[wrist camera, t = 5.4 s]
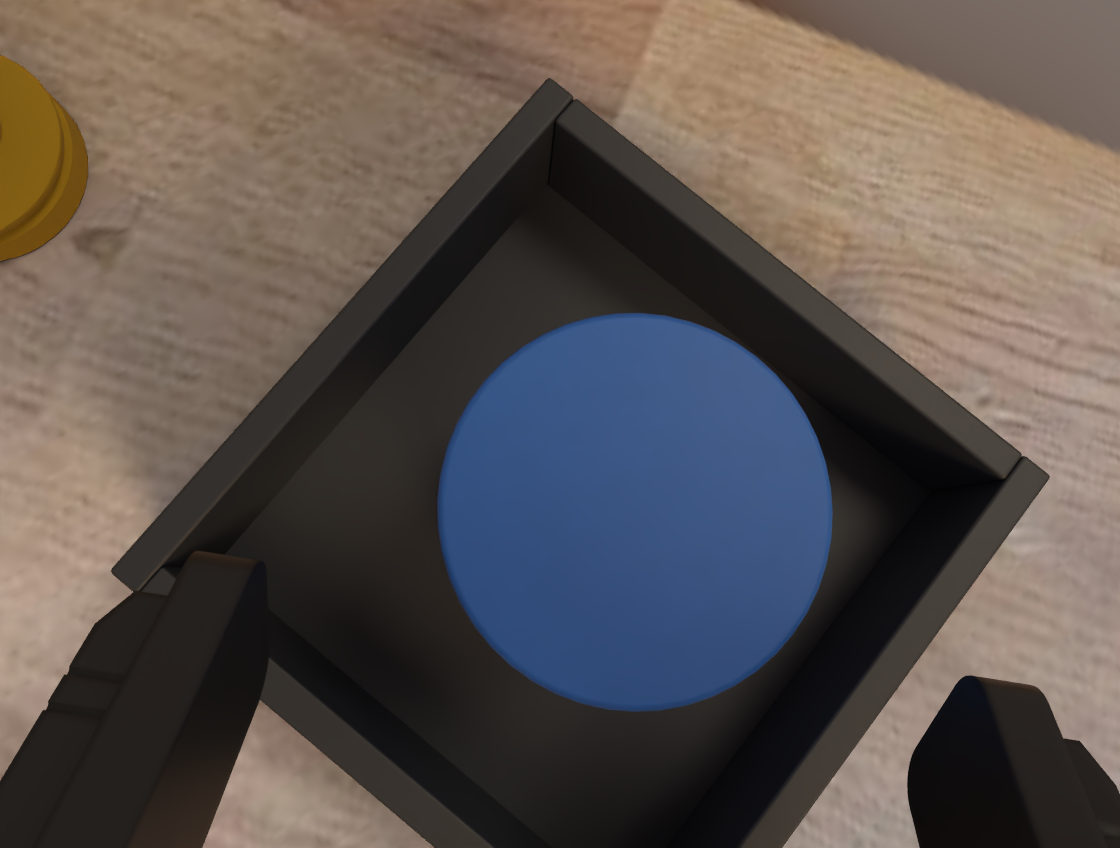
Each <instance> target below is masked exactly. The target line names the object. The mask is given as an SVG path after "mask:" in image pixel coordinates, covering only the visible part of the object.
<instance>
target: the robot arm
mask: <svg viewBox="0 0 1120 848" xmlns="http://www.w3.org/2000/svg"><path fill="white" fill-rule="evenodd" d="M269 650H270V644H269V620H268V597H267V574H266V566H265V563H264V562H263V561H260V560H254V559H248V558H241V557H235V556H229V555H222V554H216V553H210V552H203V551H195V552H193V553H192V554H191V555H190V556H189V558H188V559H187V561H186V562H185V564H184V566H183V568H182V569H181V571H180V573H179V575H178V577H177V579H176V581H175V582H174V584H173V586H172V588H171V590H170V592H169V594H168V595H161V594H154V593H148V592H142V591H135V592H133V593H132V594H131V595H130V596H128V597H127V598H126V599H125V600H124V601H122V602H121V603H120V604H119V605H117V606H116V607H115V608H114V609H112V610H111V611H110V612H109V613H108V614H106V615H105V616H104V617H103V618H101V619H100V620H99V621H98V622H97V623H95V624H94V626H93V628H92V629H91V631H90V633H89V634H88V636H87V638H86V639H85V641H84V643H83V644H82V646H81V648H80V649H79V651H78V653H77V654H76V656H75V658H74V659H73V661H72V663H71V664H70V666H69V672H68V674H67V675H64V676H63V678H62V679H61V681H60V683H59V684H58V686H57V688H56V689H55V691H54V693H53V694H52V696H51V698H50V699H49V701H48V707H47V709H46V710H43V711H42V713H41V714H40V716H39V718H38V719H37V721H36V723H35V724H34V726H33V728H32V729H31V731H30V733H29V734H28V736H27V737H26V739H25V741H24V742H23V744H22V746H21V747H20V749H19V751H18V752H17V754H16V756H15V757H14V759H13V761H12V762H11V764H10V766H9V767H8V769H7V771H6V772H5V774H4V776H3V777H2V779H1V781H0V848H202V847H203V844H204V842H205V839H206V837H207V834H208V832H209V829H210V826H211V824H212V821H213V819H214V816H215V814H216V811H217V808H218V806H219V803H220V801H221V798H222V795H223V793H224V790H225V788H226V785H227V783H228V780H229V777H230V775H231V772H232V770H233V767H234V764H235V762H236V759H237V757H238V754H239V752H240V749H241V746H242V744H243V741H244V739H245V736H246V734H247V731H248V728H249V726H250V723H251V721H252V718H253V715H254V713H255V710H256V708H257V705H258V702H259V700H260V696H261V693H262V690H263V686H264V682H265V678H266V673H267V668H268V661H269ZM907 788H908V800H909V805H910V810H911V814H912V818H913V822H914V826H915V830H916V834H917V838H918V843H919V847H920V848H1120V794H1119V791H1118V789H1117V787H1116V785H1115V784H1114V782H1113V781H1112V780H1111V779H1110V777H1109V776H1108V775H1107V774H1106V773H1105V771H1104V770H1103V769H1102V768H1101V766H1100V765H1099V764H1098V763H1097V762H1096V760H1095V759H1094V758H1093V757H1092V755H1091V754H1090V753H1089V752H1088V751H1087V749H1086V748H1085V747H1084V746H1083V744H1082V743H1081V742H1080V741H1076V740H1070V739H1063V737H1062V735H1061V732H1060V730H1059V727H1058V725H1057V723H1056V720H1055V718H1054V715H1053V713H1052V710H1051V708H1050V705H1049V703H1048V701H1047V699H1046V697H1045V696H1044V694H1043V693H1042V692H1041V691H1040V690H1039V689H1038V688H1037V687H1035V686H1032V685H1027V684H1021V683H1014V682H1008V681H1002V680H995V679H989V678H983V677H976V676H965V677H963V678H962V679H960V680H959V681H958V683H957V684H956V685H955V687H954V688H953V690H952V692H951V693H950V695H949V696H948V698H947V699H946V701H945V703H944V704H943V706H942V707H941V709H940V710H939V712H938V714H937V715H936V717H935V718H934V720H933V721H932V723H931V725H930V726H929V728H928V729H927V731H926V732H925V734H924V735H923V737H922V739H921V740H920V742H919V743H918V745H917V746H916V748H915V750H914V752H913V755H912V757H911V761H910V765H909V770H908V783H907Z"/></svg>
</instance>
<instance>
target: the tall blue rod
mask: <svg viewBox="0 0 1120 848" xmlns="http://www.w3.org/2000/svg"><path fill="white" fill-rule="evenodd" d="M437 516H438V532H439V539H440V545H441V552H442V556H443V559H444V563H445V566H446V570H447V573H448V576H449V579H450V582H451V584H452V586H453V589H454V591H455V593H456V595H457V598H458V600H459V602H460V604H461V606H462V607H463V609H464V611H465V612H466V614H467V616H468V617H469V619H470V621H471V622H472V624H473V626H474V627H475V628H476V629H477V631H478V632H479V633H480V634H481V636H482V637H483V638H484V639H485V641H486V642H487V643H488V644H489V646H490V647H491V648H492V649H493V650H494V651H495V652H496V653H497V654H499V655H500V656H501V657H502V658H503V659H504V660H505V661H506V662H507V663H508V664H509V665H510V666H511V667H513V668H514V669H516V670H517V671H518V672H520V673H521V674H522V675H524V676H525V677H527V678H528V679H529V680H531V681H532V682H534V683H536V684H538V685H540V686H541V687H543V688H545V689H547V690H549V691H551V692H553V693H554V694H557V695H559V696H562V697H565V698H567V699H570V700H573V701H575V702H578V703H581V704H585V705H589V706H594V707H598V708H602V709H607V710H618V711H629V712H642V711H661V710H666V709H672V708H677V707H682V706H687V705H690V704H693V703H696V702H699V701H702V700H705V699H708V698H711V697H713V696H715V695H717V694H719V693H721V692H723V691H726V690H728V689H730V688H732V687H734V686H735V685H737V684H738V683H740V682H741V681H743V680H744V679H746V678H747V677H749V676H750V675H752V674H753V673H755V672H756V671H758V670H759V669H760V668H761V667H762V666H763V665H764V664H765V663H767V662H768V661H769V660H770V659H771V658H772V657H773V656H774V655H776V654H777V652H778V651H779V650H780V649H781V648H782V647H783V645H784V644H785V643H786V642H787V641H788V640H789V638H790V637H791V636H792V635H793V634H794V632H795V631H796V629H797V628H798V626H799V624H800V623H801V621H802V620H803V618H804V617H805V615H806V614H807V612H808V610H809V608H810V606H811V604H812V602H813V600H814V597H815V595H816V593H817V591H818V589H819V586H820V583H821V580H822V577H823V574H824V571H825V568H826V564H827V559H828V554H829V548H830V543H831V535H832V516H833V511H832V497H831V486H830V481H829V476H828V471H827V466H826V462H825V459H824V456H823V453H822V450H821V447H820V444H819V441H818V438H817V436H816V434H815V432H814V430H813V428H812V426H811V424H810V422H809V420H808V418H807V416H806V414H805V412H804V411H803V409H802V408H801V406H800V405H799V403H798V402H797V400H796V399H795V397H794V396H793V394H792V393H791V392H790V390H789V389H788V388H787V387H786V386H785V384H784V383H783V382H782V381H781V380H780V379H779V377H778V376H777V375H776V374H775V373H774V372H773V371H772V370H771V369H770V368H768V367H767V366H766V365H765V364H764V363H763V362H762V361H761V360H760V359H759V358H758V357H756V356H755V355H753V354H752V353H751V352H749V351H748V350H746V349H745V348H744V347H742V346H741V345H739V344H738V343H736V342H735V341H733V340H731V339H729V338H727V337H725V336H723V335H721V334H720V333H718V332H716V331H714V330H711V329H709V328H706V327H703V326H701V325H698V324H696V323H693V322H690V321H686V320H682V319H678V318H674V317H669V316H665V315H656V314H646V313H615V314H608V315H602V316H595V317H589V318H586V319H582V320H579V321H575V322H572V323H568V324H565V325H563V326H561V327H559V328H556V329H554V330H552V331H549V332H547V333H545V334H543V335H541V336H539V337H538V338H536V339H534V340H533V341H531V342H529V343H528V344H526V345H524V346H523V347H521V348H520V349H519V350H517V351H516V352H515V353H513V354H512V355H511V356H510V357H508V358H507V359H506V360H505V361H503V362H502V363H501V364H500V365H499V366H498V367H497V368H496V369H495V370H494V371H493V372H492V373H491V374H490V375H489V376H488V377H487V378H486V380H485V381H484V382H483V383H482V384H481V386H480V387H479V388H478V390H477V391H476V392H475V394H474V395H473V397H472V398H471V399H470V401H469V402H468V404H467V406H466V407H465V409H464V411H463V413H462V415H461V416H460V418H459V420H458V422H457V424H456V426H455V428H454V431H453V433H452V436H451V438H450V441H449V443H448V446H447V449H446V452H445V457H444V461H443V465H442V469H441V473H440V480H439V489H438V497H437Z"/></svg>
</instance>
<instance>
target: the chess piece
mask: <svg viewBox="0 0 1120 848" xmlns="http://www.w3.org/2000/svg"><path fill="white" fill-rule="evenodd" d="M87 177H88V156H87V152H86V147H85V143H84V139H83V137H82V135H81V133H80V131H79V128H78V126H77V124H76V123H75V122H74V120H73V119H72V118H71V116H70V115H69V114H68V112H67V111H66V110H65V109H64V108H63V107H62V106H61V105H60V104H59V103H58V102H57V101H56V100H55V99H54V98H53V97H52V96H51V95H50V94H49V93H48V92H47V91H46V90H45V88H44V87H43V86H42V84H41V83H40V82H39V80H37V79H36V78H35V77H34V76H33V75H32V74H31V73H29V72H28V71H27V70H26V69H25V68H24V67H22V66H20V65H19V64H17V63H15V62H13V61H12V60H10V59H8V58H6V57H4V56H1V55H0V261H2V260H6V259H10V258H14V257H19V256H21V255H23V254H26V253H28V252H30V251H33V250H35V249H37V248H39V247H40V246H42V245H43V244H44V243H46V242H47V241H49V240H50V239H52V238H53V237H54V236H55V235H56V234H57V233H58V232H59V231H60V230H61V229H62V228H63V227H64V226H65V225H66V224H67V223H68V222H69V220H70V219H71V217H72V216H73V214H74V213H75V211H76V210H77V208H78V206H79V204H80V201H81V199H82V197H83V194H84V191H85V187H86V182H87Z"/></svg>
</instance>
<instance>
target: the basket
mask: <svg viewBox="0 0 1120 848" xmlns="http://www.w3.org/2000/svg"><path fill="white" fill-rule="evenodd" d="M615 313H646V314H656V315H665V316H669V317H674V318H678V319H682V320H686V321H690V322H693V323H696V324H698V325H701V326H703V327H706V328H709V329H711V330H714V331H716V332H718V333H720V334H721V335H723V336H725V337H727V338H729V339H731V340H733V341H735V342H736V343H738V344H739V345H741V346H742V347H744V348H745V349H746V350H748V351H749V352H751V353H752V354H753V355H755V356H756V357H758V358H759V359H760V360H761V361H762V362H763V363H764V364H765V365H766V366H767V367H768V368H770V369H771V370H772V371H773V372H774V373H775V374H776V375H777V376H778V377H779V379H780V380H781V381H782V382H783V383H784V384H785V386H786V387H787V388H788V389H789V390H790V392H791V393H792V394H793V396H794V397H795V399H796V400H797V402H798V403H799V405H800V406H801V408H802V409H803V411H804V412H805V414H806V416H807V418H808V420H809V422H810V424H811V426H812V428H813V430H814V432H815V434H816V436H817V438H818V441H819V444H820V447H821V450H822V453H823V456H824V459H825V462H826V466H827V471H828V476H829V481H830V486H831V497H832V511H833V516H832V535H831V543H830V548H829V554H828V559H827V564H826V568H825V571H824V574H823V577H822V580H821V583H820V586H819V589H818V591H817V593H816V595H815V597H814V600H813V602H812V604H811V606H810V608H809V610H808V612H807V614H806V615H805V617H804V618H803V620H802V621H801V623H800V624H799V626H798V628H797V629H796V631H795V632H794V634H793V635H792V636H791V637H790V638H789V640H788V641H787V642H786V643H785V644H784V645H783V647H782V648H781V649H780V650H779V651H778V652H777V654H776V655H774V656H773V657H772V658H771V659H770V660H769V661H768V662H767V663H765V664H764V665H763V666H762V667H761V668H760V669H759V670H758V671H756V672H755V673H753V674H752V675H750V676H749V677H747V678H746V679H744V680H743V681H741V682H740V683H738V684H737V685H735V686H734V687H732V688H730V689H728V690H726V691H723V692H721V693H719V694H717V695H715V696H713V697H711V698H708V699H705V700H702V701H699V702H696V703H693V704H690V705H687V706H682V707H677V708H672V709H666V710H661V711H642V712H629V711H618V710H607V709H602V708H598V707H594V706H589V705H585V704H581V703H578V702H575V701H573V700H570V699H567V698H565V697H562V696H559V695H557V694H554V693H553V692H551V691H549V690H547V689H545V688H543V687H541V686H540V685H538V684H536V683H534V682H532V681H531V680H529V679H528V678H527V677H525V676H524V675H522V674H521V673H520V672H518V671H517V670H516V669H514V668H513V667H511V666H510V665H509V664H508V663H507V662H506V661H505V660H504V659H503V658H502V657H501V656H500V655H499V654H497V653H496V652H495V651H494V650H493V649H492V648H491V647H490V646H489V644H488V643H487V642H486V641H485V639H484V638H483V637H482V636H481V634H480V633H479V632H478V631H477V629H476V628H475V627H474V626H473V624H472V622H471V621H470V619H469V617H468V616H467V614H466V612H465V611H464V609H463V607H462V606H461V604H460V602H459V600H458V598H457V595H456V593H455V591H454V589H453V586H452V584H451V582H450V579H449V576H448V573H447V570H446V566H445V563H444V559H443V556H442V552H441V545H440V539H439V532H438V516H437V497H438V489H439V480H440V473H441V469H442V465H443V461H444V457H445V452H446V449H447V446H448V443H449V441H450V438H451V436H452V433H453V431H454V428H455V426H456V424H457V422H458V420H459V418H460V416H461V415H462V413H463V411H464V409H465V407H466V406H467V404H468V402H469V401H470V399H471V398H472V397H473V395H474V394H475V392H476V391H477V390H478V388H479V387H480V386H481V384H482V383H483V382H484V381H485V380H486V378H487V377H488V376H489V375H490V374H491V373H492V372H493V371H494V370H495V369H496V368H497V367H498V366H499V365H500V364H501V363H502V362H503V361H505V360H506V359H507V358H508V357H510V356H511V355H512V354H513V353H515V352H516V351H517V350H519V349H520V348H521V347H523V346H524V345H526V344H528V343H529V342H531V341H533V340H534V339H536V338H538V337H539V336H541V335H543V334H545V333H547V332H549V331H552V330H554V329H556V328H559V327H561V326H563V325H565V324H568V323H572V322H575V321H579V320H582V319H586V318H589V317H595V316H602V315H608V314H615ZM1021 455H1022V454H1021V453H1020V452H1019V451H1018V450H1017V449H1015V448H1014V447H1013V446H1012V445H1010V444H1009V443H1008V442H1007V441H1005V440H1004V439H1003V438H1002V437H1000V436H999V435H998V434H997V433H995V432H994V431H993V430H992V429H990V428H989V427H988V426H987V425H985V424H984V423H983V422H982V421H980V420H979V419H978V418H976V417H975V416H974V415H973V414H971V413H970V412H969V411H968V410H966V409H965V408H964V407H963V406H961V405H960V404H959V403H958V402H956V401H955V400H954V399H953V398H951V397H950V396H949V395H948V394H946V393H945V392H944V391H943V390H941V389H940V388H939V387H938V386H936V385H935V384H934V383H933V382H931V381H930V380H929V379H928V378H926V377H925V376H924V375H923V374H921V373H920V372H919V371H917V370H916V369H915V368H914V367H912V366H911V365H910V364H909V363H907V362H906V361H905V360H904V359H902V358H901V357H900V356H899V355H897V354H896V353H895V352H894V351H892V350H891V349H890V348H889V347H887V346H886V345H885V344H884V343H882V342H881V341H880V340H879V339H877V338H876V337H875V336H874V335H872V334H871V333H870V332H869V331H867V330H866V329H865V328H864V327H862V326H861V325H860V324H858V323H857V322H856V321H855V320H853V319H852V318H851V317H850V316H848V315H847V314H846V313H845V312H843V311H842V310H841V309H840V308H838V307H837V306H836V305H835V304H833V303H832V302H831V301H830V300H828V299H827V298H826V297H825V296H823V295H822V294H821V293H820V292H818V291H817V290H816V289H815V288H813V287H812V286H811V285H810V284H808V283H807V282H806V281H805V280H803V279H802V278H801V277H800V276H798V275H797V274H796V273H794V272H793V271H792V270H791V269H789V268H788V267H787V266H786V265H784V264H783V263H782V262H781V261H779V260H778V259H777V258H776V257H774V256H773V255H772V254H771V253H769V252H768V251H767V250H766V249H764V248H763V247H762V246H761V245H759V244H758V243H757V242H756V241H754V240H753V239H752V238H751V237H749V236H748V235H747V234H746V233H744V232H743V231H742V230H741V229H739V228H738V227H737V226H735V225H734V224H733V223H732V222H730V221H729V220H728V219H727V218H725V217H724V216H723V215H722V214H720V213H719V212H718V211H717V210H715V209H714V208H713V207H712V206H710V205H709V204H708V203H707V202H705V201H704V200H703V199H702V198H700V197H699V196H698V195H697V194H695V193H694V192H693V191H692V190H690V189H689V188H688V187H687V186H685V185H684V184H683V183H682V182H680V181H679V180H678V179H676V178H675V177H674V176H673V175H671V174H670V173H669V172H668V171H666V170H665V169H664V168H663V167H661V166H660V165H659V164H658V163H656V162H655V161H654V160H653V159H651V158H650V157H649V156H648V155H646V154H645V153H644V152H643V151H641V150H640V149H639V148H638V147H636V146H635V145H634V144H633V143H631V142H630V141H629V140H628V139H626V138H625V137H624V136H623V135H621V134H620V133H619V132H617V131H616V130H615V129H614V128H612V127H611V126H610V125H609V124H607V123H606V122H605V121H604V120H602V119H601V118H600V117H599V116H597V115H596V114H595V113H594V112H592V111H591V110H590V109H589V108H587V107H586V106H585V105H584V104H582V103H581V102H580V101H579V100H577V99H575V100H573V96H572V95H571V94H570V93H569V92H567V91H566V90H565V89H564V88H562V87H561V86H560V85H559V84H557V83H556V82H555V81H553V80H552V79H550V78H549V79H547V80H546V81H545V82H544V83H543V84H542V85H541V86H540V88H539V89H538V90H537V91H536V92H535V93H534V94H533V95H532V97H531V98H530V99H529V100H528V101H527V102H526V103H525V104H524V106H523V107H522V108H521V109H520V110H519V111H518V112H517V113H516V115H515V116H514V117H513V118H512V119H511V120H510V121H509V122H508V124H507V125H506V126H505V127H504V128H503V129H502V130H501V131H500V133H499V134H498V135H497V136H496V137H495V138H494V139H493V140H492V142H491V143H490V144H489V145H488V146H487V147H486V148H485V149H484V151H483V152H482V153H481V154H480V155H479V156H478V157H477V158H476V160H475V161H474V162H473V163H472V164H471V165H470V166H469V167H468V169H467V170H466V171H465V172H464V173H463V174H462V175H461V176H460V178H459V179H458V180H457V181H456V182H455V183H454V184H453V185H452V187H451V188H450V189H449V190H448V191H447V192H446V193H445V194H444V196H443V197H442V198H441V199H440V200H439V201H438V202H437V203H436V205H435V206H434V207H433V208H432V209H431V210H430V211H429V212H428V214H427V215H426V216H425V217H424V218H423V219H422V220H421V221H420V223H419V224H418V225H417V226H416V227H415V228H414V229H413V230H412V232H411V233H410V234H409V235H408V236H407V237H406V238H405V239H404V241H403V242H402V243H401V244H400V245H399V246H398V247H397V248H396V250H395V251H394V252H393V253H392V254H391V255H390V256H389V257H388V258H387V260H386V261H385V262H384V263H383V264H382V265H381V266H380V267H379V269H378V270H377V271H376V272H375V273H374V274H373V275H372V276H371V278H370V279H369V280H368V281H367V282H366V283H365V284H364V285H363V287H362V288H361V289H360V290H359V291H358V292H357V293H356V294H355V296H354V297H353V298H352V299H351V300H350V301H349V302H348V303H347V305H346V306H345V307H344V308H343V309H342V310H341V311H340V312H339V314H338V315H337V316H336V317H335V318H334V319H333V320H332V321H331V323H330V324H329V325H328V326H327V327H326V328H325V329H324V330H323V332H322V333H321V334H320V335H319V336H318V337H317V338H316V339H315V341H314V342H313V343H312V344H311V345H310V346H309V347H308V348H307V350H306V351H305V352H304V353H303V354H302V355H301V356H300V357H299V359H298V360H297V361H296V362H295V363H294V364H293V365H292V366H291V368H290V369H289V370H288V371H287V372H286V373H285V374H284V375H283V377H282V378H281V379H280V380H279V381H278V382H277V383H276V384H275V386H274V387H273V388H272V389H271V390H270V391H269V392H268V393H267V395H266V396H265V397H264V398H263V399H262V400H261V401H260V402H259V404H258V405H257V406H256V407H255V408H254V409H253V410H252V411H251V413H250V414H249V415H248V416H247V417H246V418H245V419H244V420H243V422H242V423H241V424H240V425H239V426H238V427H237V428H236V429H235V431H234V432H233V433H232V434H231V435H230V436H229V437H228V438H227V440H226V441H225V442H224V443H223V444H222V445H221V446H220V447H219V449H218V450H217V451H216V452H215V453H214V454H213V455H212V456H211V458H210V459H209V460H208V461H207V462H206V463H205V464H204V465H203V467H202V468H201V469H200V470H199V471H198V472H197V473H196V474H195V476H194V477H193V478H192V479H191V480H190V481H189V482H188V483H187V485H186V486H185V487H184V488H183V489H182V490H181V491H180V492H179V494H178V495H177V496H176V497H175V498H174V499H173V500H172V501H171V503H170V504H169V505H168V506H167V507H166V508H165V509H164V510H163V512H162V513H161V514H160V515H159V516H158V517H157V518H156V519H155V521H154V522H153V523H152V524H151V525H150V526H149V527H148V528H147V530H146V531H145V532H144V533H143V534H142V535H141V536H140V537H139V539H138V540H137V541H136V542H135V543H134V544H133V545H132V546H131V548H130V549H129V550H128V551H127V552H126V553H125V554H124V555H123V557H122V558H121V559H120V560H119V561H118V562H117V563H116V564H115V566H114V567H113V568H112V570H111V572H112V574H113V575H114V576H115V577H116V578H118V579H119V580H120V581H121V582H122V583H124V584H125V585H126V586H127V587H128V588H129V589H131V590H132V591H133V592H135V591H142V592H148V593H154V594H161V595H168V594H169V592H170V590H171V588H172V586H173V584H174V582H175V581H176V579H177V577H178V575H179V573H180V571H181V569H182V568H183V566H184V564H185V562H186V561H187V559H188V558H189V556H190V555H191V554H192V553H193V552H195V551H203V552H210V553H216V554H222V555H229V556H235V557H241V558H248V559H254V560H260V561H263V562H264V563H265V566H266V574H267V597H268V620H269V644H270V650H269V661H268V668H267V673H266V678H265V682H264V686H263V690H262V693H261V696H260V700H261V701H262V702H263V703H265V704H266V705H267V706H268V707H269V708H271V709H272V710H273V711H274V712H275V713H276V714H278V715H279V716H280V717H281V718H282V719H284V720H285V721H286V722H287V723H288V724H289V725H291V726H292V727H293V728H294V729H295V730H297V731H298V732H299V733H300V734H301V735H302V736H304V737H305V738H306V739H307V740H308V741H310V742H311V743H312V744H313V745H314V746H315V747H317V748H318V749H319V750H320V751H321V752H323V753H324V754H325V755H326V756H327V757H328V758H330V759H331V760H332V761H333V762H334V763H335V764H337V765H338V766H339V767H340V768H341V769H343V770H344V771H345V772H346V773H347V774H348V775H350V776H351V777H352V778H353V779H354V780H356V781H357V782H358V783H359V784H360V785H361V786H363V787H364V788H365V789H366V790H367V791H369V792H370V793H371V794H372V795H373V796H374V797H376V798H377V799H378V800H379V801H380V802H382V803H383V804H384V805H385V806H386V807H387V808H389V809H390V810H391V811H392V812H393V813H395V814H396V815H397V816H398V817H399V818H400V819H402V820H403V821H404V822H405V823H406V824H408V825H409V826H410V827H411V828H412V829H413V830H415V831H416V832H417V833H418V834H419V835H420V836H422V837H423V838H424V839H425V840H426V841H428V842H429V843H430V844H431V845H432V846H433V847H435V848H782V847H783V846H784V844H785V843H786V842H787V840H788V839H789V837H790V836H791V835H792V833H793V832H794V830H795V829H796V828H797V826H798V825H799V824H800V822H801V821H802V819H803V818H804V817H805V815H806V814H807V813H808V811H809V810H810V808H811V807H812V806H813V804H814V803H815V801H816V800H817V799H818V797H819V796H820V795H821V793H822V792H823V790H824V789H825V788H826V786H827V785H828V784H829V782H830V781H831V779H832V778H833V777H834V775H835V774H836V772H837V771H838V770H839V768H840V767H841V766H842V764H843V763H844V761H845V760H846V759H847V757H848V756H849V754H850V753H851V752H852V750H853V749H854V748H855V746H856V745H857V743H858V742H859V741H860V739H861V738H862V737H863V735H864V734H865V732H866V731H867V730H868V728H869V727H870V725H871V724H872V723H873V721H874V720H875V719H876V717H877V716H878V714H879V713H880V712H881V710H882V709H883V707H884V706H885V705H886V703H887V702H888V701H889V699H890V698H891V696H892V695H893V694H894V692H895V691H896V690H897V688H898V687H899V685H900V684H901V683H902V681H903V680H904V678H905V677H906V676H907V674H908V673H909V672H910V670H911V669H912V667H913V666H914V665H915V663H916V662H917V661H918V659H919V658H920V656H921V655H922V654H923V652H924V651H925V649H926V648H927V647H928V645H929V644H930V643H931V641H932V640H933V638H934V637H935V636H936V634H937V633H938V631H939V630H940V629H941V627H942V626H943V625H944V623H945V622H946V620H947V619H948V618H949V616H950V615H951V614H952V612H953V611H954V609H955V608H956V607H957V605H958V604H959V602H960V601H961V600H962V598H963V597H964V596H965V594H966V593H967V591H968V590H969V589H970V587H971V586H972V584H973V583H974V582H975V580H976V579H977V578H978V576H979V575H980V573H981V572H982V571H983V569H984V568H985V567H986V565H987V564H988V562H989V561H990V560H991V558H992V557H993V555H994V554H995V553H996V551H997V550H998V549H999V547H1000V546H1001V544H1002V543H1003V542H1004V540H1005V539H1006V537H1007V536H1008V535H1009V533H1010V532H1011V531H1012V529H1013V528H1014V526H1015V525H1016V524H1017V522H1018V521H1019V520H1020V518H1021V517H1022V515H1023V514H1024V513H1025V511H1026V510H1027V508H1028V507H1029V506H1030V504H1031V503H1032V502H1033V500H1034V499H1035V497H1036V496H1037V495H1038V493H1039V492H1040V491H1041V489H1042V488H1043V486H1044V485H1045V484H1046V482H1047V481H1048V479H1049V477H1050V476H1049V475H1048V474H1047V473H1046V472H1045V471H1043V470H1042V469H1041V468H1040V467H1038V466H1037V465H1036V464H1034V463H1033V462H1032V461H1031V460H1029V459H1028V458H1027V457H1025V456H1021Z"/></svg>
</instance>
